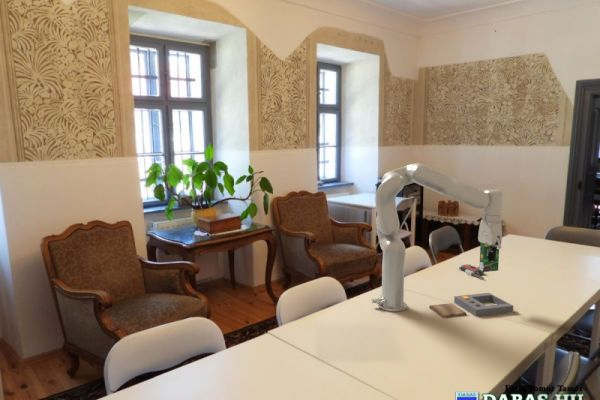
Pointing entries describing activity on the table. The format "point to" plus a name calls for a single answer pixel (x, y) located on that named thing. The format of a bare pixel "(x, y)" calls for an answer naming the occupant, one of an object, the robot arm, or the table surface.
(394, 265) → the robot arm
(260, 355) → the table surface
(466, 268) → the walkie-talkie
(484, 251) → the coffee box
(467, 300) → the toy stove front
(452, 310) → the walnut pad
